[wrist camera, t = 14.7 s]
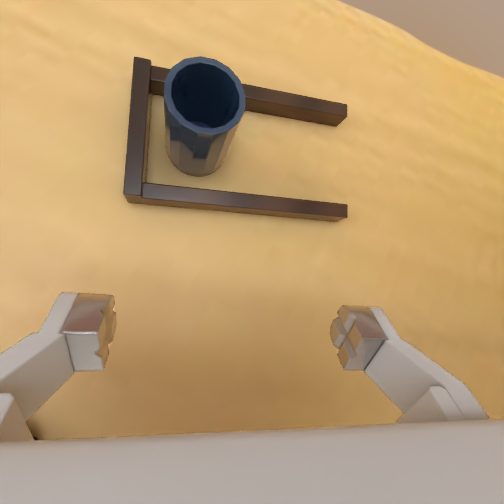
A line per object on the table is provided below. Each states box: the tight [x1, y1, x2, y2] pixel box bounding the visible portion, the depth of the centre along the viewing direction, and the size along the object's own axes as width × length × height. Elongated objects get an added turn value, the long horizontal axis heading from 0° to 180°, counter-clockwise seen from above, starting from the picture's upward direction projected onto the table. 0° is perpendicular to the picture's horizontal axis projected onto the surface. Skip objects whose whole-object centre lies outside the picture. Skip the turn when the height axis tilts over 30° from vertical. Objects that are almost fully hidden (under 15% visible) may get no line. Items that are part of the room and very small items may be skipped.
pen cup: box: [164, 57, 246, 176], centre depth 22 cm, size 5×5×8 cm
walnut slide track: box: [123, 57, 347, 221], centre depth 25 cm, size 18×10×2 cm, turn 88°
